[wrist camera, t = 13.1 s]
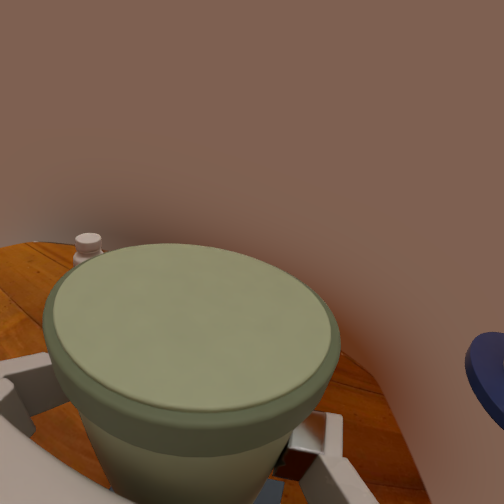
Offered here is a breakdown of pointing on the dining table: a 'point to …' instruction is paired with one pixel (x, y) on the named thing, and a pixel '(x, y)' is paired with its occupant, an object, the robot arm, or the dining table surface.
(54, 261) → the dining table surface
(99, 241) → the pill bottle
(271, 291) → the lidded cream canister
